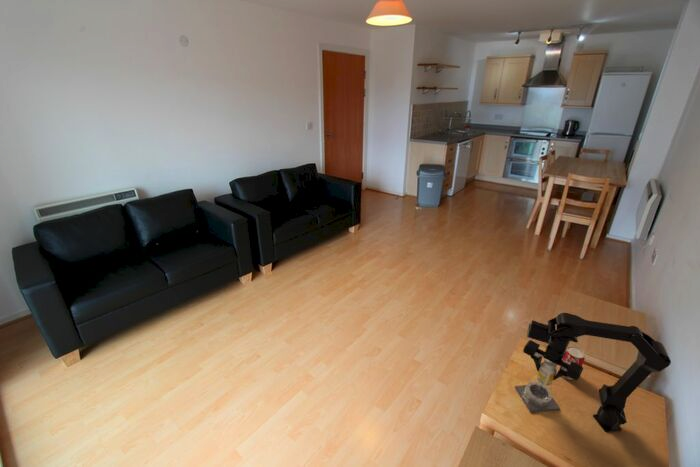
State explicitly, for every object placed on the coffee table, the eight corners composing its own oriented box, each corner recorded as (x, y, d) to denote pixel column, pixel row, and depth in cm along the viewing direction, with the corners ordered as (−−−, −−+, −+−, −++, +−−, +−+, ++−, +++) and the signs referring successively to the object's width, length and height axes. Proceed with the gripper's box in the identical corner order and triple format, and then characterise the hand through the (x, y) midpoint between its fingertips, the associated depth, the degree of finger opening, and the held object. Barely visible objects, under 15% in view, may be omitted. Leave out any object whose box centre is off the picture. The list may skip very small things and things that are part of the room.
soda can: (557, 377, 140) (566, 355, 134) (557, 365, 146) (565, 343, 140) (577, 383, 137) (587, 361, 131) (575, 371, 143) (585, 349, 137)
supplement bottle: (536, 383, 126) (542, 365, 121) (535, 372, 130) (541, 355, 126) (552, 388, 124) (559, 370, 119) (551, 377, 128) (558, 359, 124)
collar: (559, 409, 127) (562, 403, 125) (530, 412, 126) (532, 405, 124) (542, 385, 136) (544, 378, 135) (514, 387, 136) (516, 381, 134)
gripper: (593, 347, 117) (579, 377, 124) (538, 321, 129) (528, 350, 136) (585, 364, 110) (570, 395, 118) (527, 335, 122) (517, 365, 129)
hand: (545, 374), depth 125 cm, fingers closed on supplement bottle, 5 cm apart
